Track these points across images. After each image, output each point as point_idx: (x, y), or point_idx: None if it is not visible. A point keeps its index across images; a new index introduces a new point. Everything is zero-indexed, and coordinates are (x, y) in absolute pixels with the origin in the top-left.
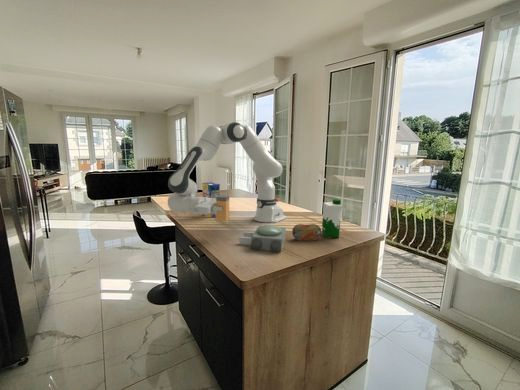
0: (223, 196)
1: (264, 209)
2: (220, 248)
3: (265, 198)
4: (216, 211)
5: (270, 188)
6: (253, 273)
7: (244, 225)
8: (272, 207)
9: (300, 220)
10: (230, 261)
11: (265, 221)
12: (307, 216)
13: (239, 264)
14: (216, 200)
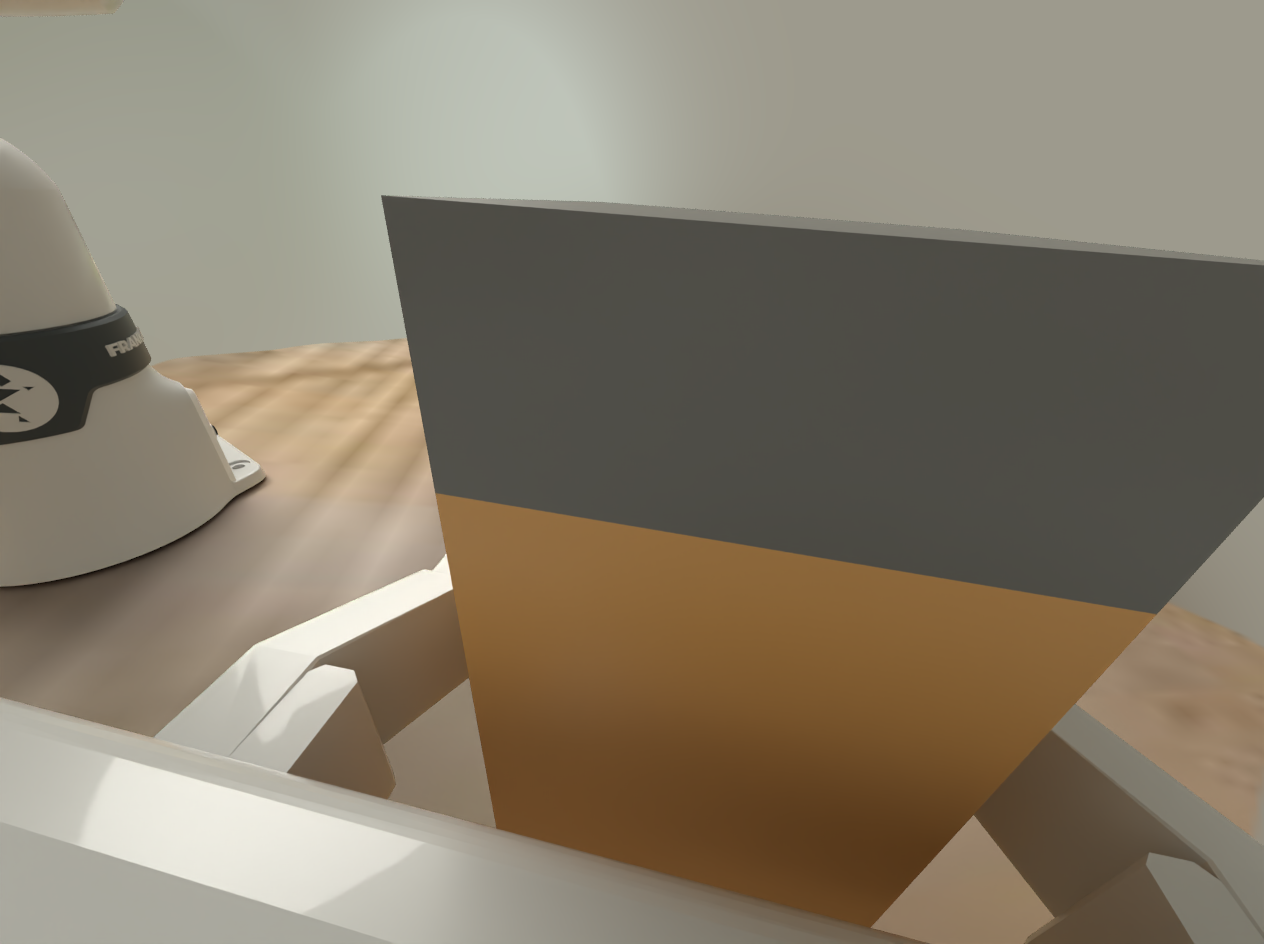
0: (831, 221)
1: (120, 426)
2: (979, 941)
3: (61, 307)
4: (879, 912)
5: (38, 174)
6: (1161, 620)
7: (148, 685)
8: (167, 379)
9: (299, 400)
10: (1166, 769)
11: (202, 515)
12: (245, 376)
13: (1140, 696)
14: (1166, 580)
